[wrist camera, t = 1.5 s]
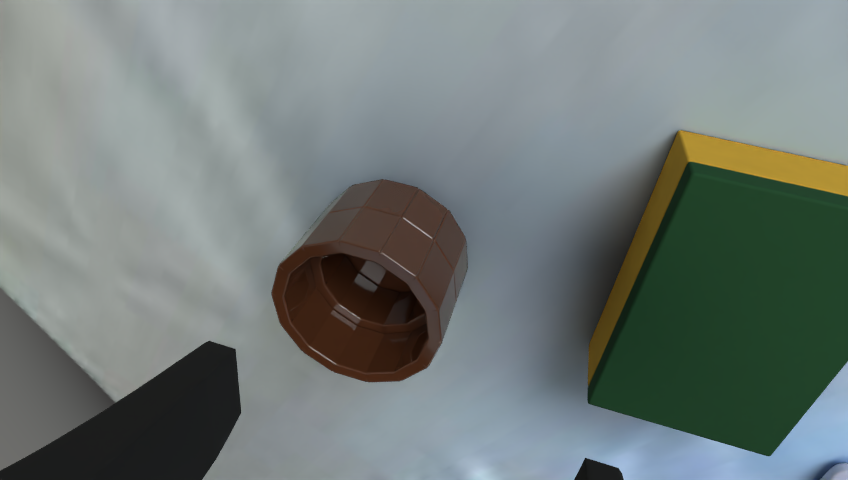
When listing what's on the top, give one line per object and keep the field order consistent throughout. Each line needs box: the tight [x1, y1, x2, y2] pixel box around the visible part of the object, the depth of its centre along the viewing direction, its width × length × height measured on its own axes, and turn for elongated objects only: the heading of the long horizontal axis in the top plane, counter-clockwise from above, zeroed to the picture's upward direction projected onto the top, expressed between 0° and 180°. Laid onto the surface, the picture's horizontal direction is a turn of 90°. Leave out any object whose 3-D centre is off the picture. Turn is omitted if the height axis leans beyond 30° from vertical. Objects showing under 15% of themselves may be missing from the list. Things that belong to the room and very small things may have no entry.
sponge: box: [588, 130, 848, 456], centre depth 17 cm, size 9×6×3 cm, turn 172°
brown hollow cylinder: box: [272, 179, 468, 382], centre depth 19 cm, size 6×6×5 cm
